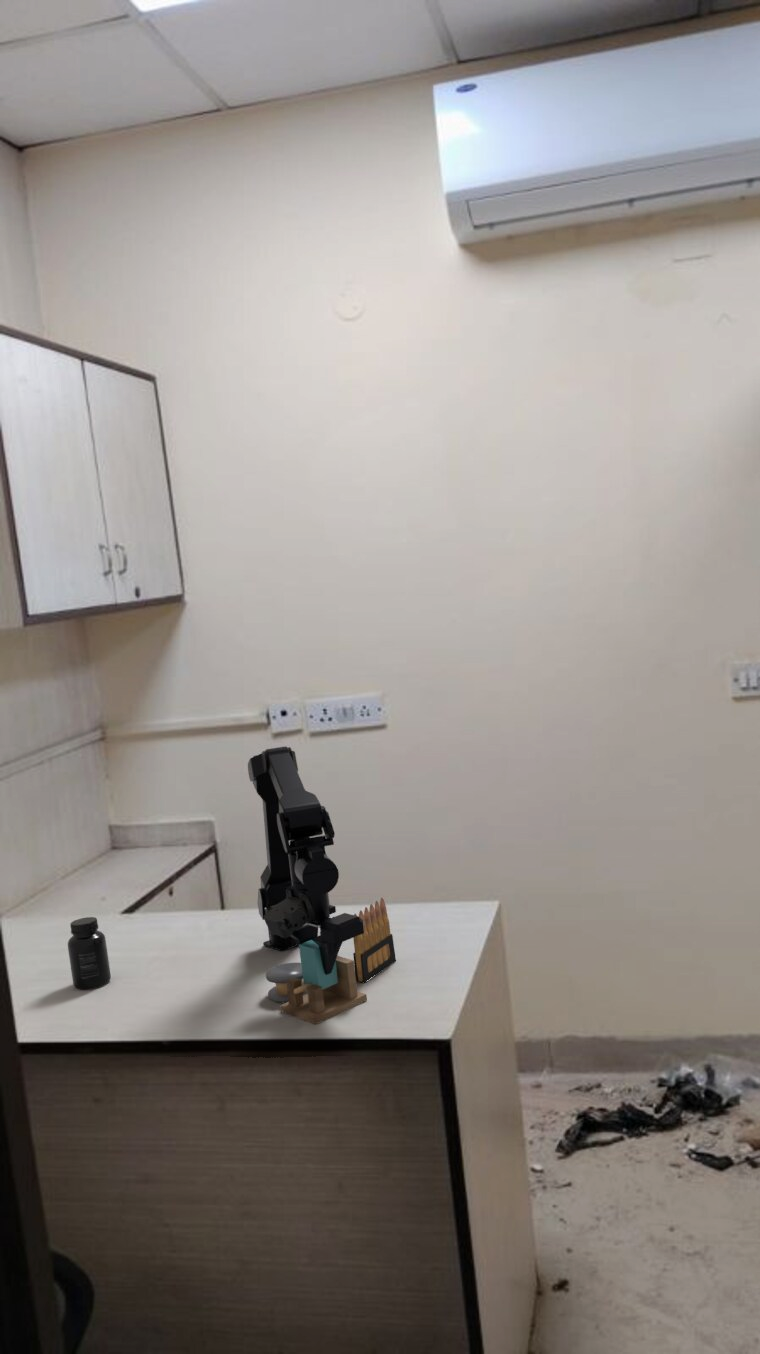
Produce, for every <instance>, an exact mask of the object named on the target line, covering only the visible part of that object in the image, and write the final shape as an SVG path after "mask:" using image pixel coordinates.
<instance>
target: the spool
mask: <svg viewBox="0 0 760 1354" xmlns="http://www.w3.org/2000/svg"><path fill="white" fill-rule="evenodd" d="M292 977H294V978H297V979H300V980H301V985H302V986H303V985H304V983H303V975H302V966H301V962H286V963H282V964H279V965H275V966H273V967H271V968H269V969H267V970H266V972H265V979H266V981H267V982H269V983H274V984H275V986H273V987H271V989H269V991H268V993H267V994H268V995H267V997H268V1000H269V1001H271V1002H273V1003H277V1002H278V1004H284V1003H287V1002H289V1000H288V991H287V983H286V980H288V979H290V978H292ZM302 993H303V995H305V994H307V993H308V991H307V990H305V991H303V992H302Z"/></svg>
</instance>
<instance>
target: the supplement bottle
mask: <svg viewBox="0 0 760 1354" xmlns="http://www.w3.org/2000/svg"><path fill="white" fill-rule="evenodd" d="M69 926H70V934H71V937H70V938H69V939H68V941H67V951H68V958H69V965H70V971H71V978H72V985H73V987H74V988H75V989H77V990H81V991H88V990H93V989H97V988H101V987H103V986H106V985H107V984H109V982H110V981H111V978H112V974H111V968H110V961H109V960H110V959H109V954H108V947H107V939H106V935H105V934H104V933H103V932H102V931H99V928H100V927H99V923H98V919H97V917H96V916H89V917H88V916H87V917H82V918H78V919H75V920H73V921H71V923H70V925H69Z"/></svg>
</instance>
